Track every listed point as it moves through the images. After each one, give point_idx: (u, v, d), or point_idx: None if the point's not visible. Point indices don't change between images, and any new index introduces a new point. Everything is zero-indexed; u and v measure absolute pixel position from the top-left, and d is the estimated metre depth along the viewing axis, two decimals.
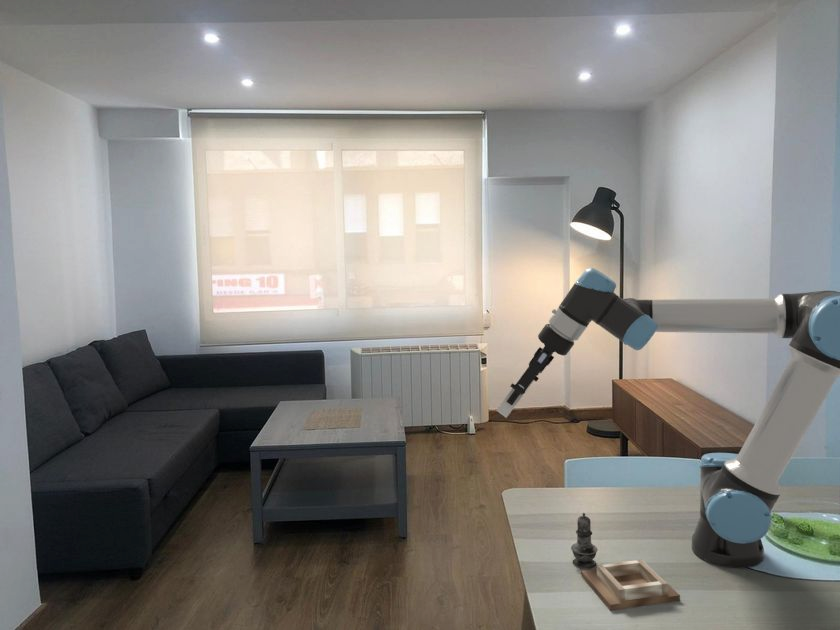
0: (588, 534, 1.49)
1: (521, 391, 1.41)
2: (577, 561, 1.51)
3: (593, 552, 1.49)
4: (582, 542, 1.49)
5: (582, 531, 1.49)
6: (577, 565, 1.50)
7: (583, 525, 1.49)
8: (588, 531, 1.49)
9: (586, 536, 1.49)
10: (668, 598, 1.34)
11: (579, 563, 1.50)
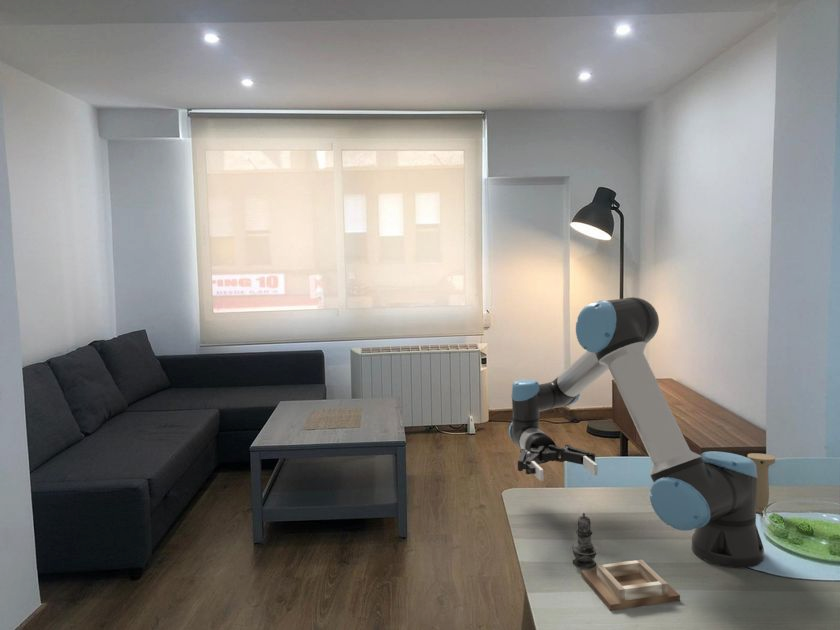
0: (588, 534, 1.49)
1: None
2: (577, 561, 1.51)
3: (593, 552, 1.49)
4: (582, 542, 1.49)
5: (582, 531, 1.49)
6: (577, 565, 1.50)
7: (583, 525, 1.49)
8: (588, 531, 1.49)
9: (586, 536, 1.49)
10: (668, 598, 1.34)
11: (579, 563, 1.50)
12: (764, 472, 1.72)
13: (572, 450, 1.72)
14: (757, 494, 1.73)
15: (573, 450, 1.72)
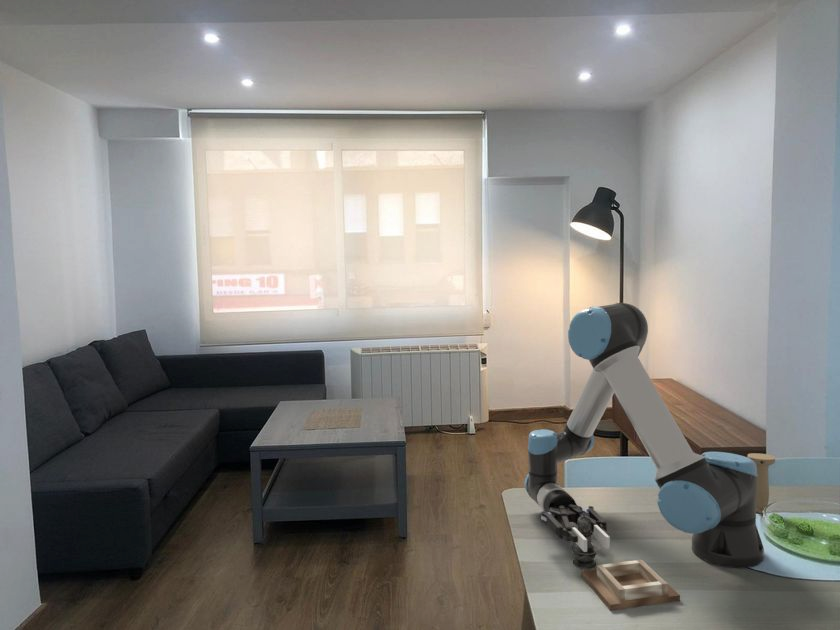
0: (588, 534, 1.49)
1: (557, 529, 1.52)
2: (577, 561, 1.51)
3: (593, 552, 1.49)
4: None
5: (582, 531, 1.49)
6: (577, 565, 1.50)
7: (583, 525, 1.49)
8: (588, 531, 1.49)
9: (587, 536, 1.49)
10: (668, 598, 1.34)
11: (579, 563, 1.50)
12: (764, 472, 1.72)
13: (590, 513, 1.59)
14: (757, 494, 1.73)
15: (591, 513, 1.59)
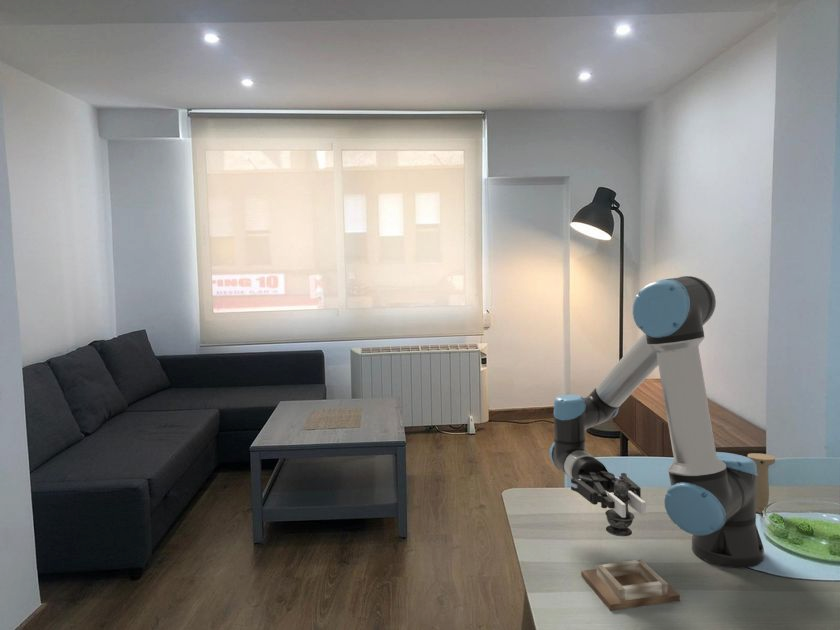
0: (626, 499, 1.38)
1: (592, 495, 1.40)
2: (612, 528, 1.40)
3: (630, 518, 1.37)
4: None
5: (619, 496, 1.38)
6: (611, 532, 1.39)
7: (621, 489, 1.38)
8: (626, 496, 1.38)
9: (624, 500, 1.38)
10: (668, 598, 1.34)
11: (613, 530, 1.39)
12: (764, 472, 1.72)
13: None
14: (757, 494, 1.73)
15: None
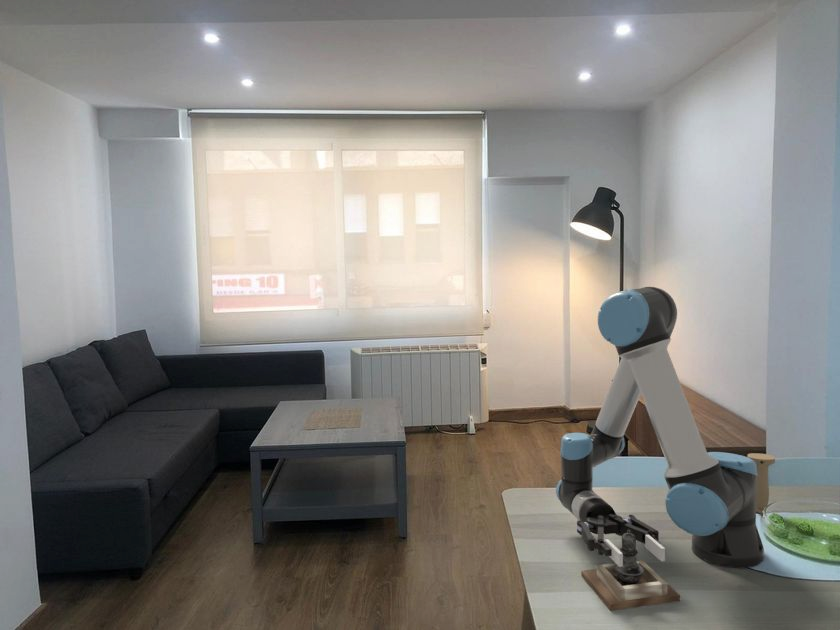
0: (634, 553, 1.37)
1: (588, 541, 1.40)
2: (621, 581, 1.39)
3: (639, 573, 1.37)
4: (627, 562, 1.37)
5: (627, 550, 1.37)
6: None
7: (628, 543, 1.37)
8: (634, 550, 1.37)
9: (632, 555, 1.37)
10: (668, 598, 1.34)
11: (623, 584, 1.38)
12: (764, 472, 1.72)
13: (634, 522, 1.48)
14: (757, 494, 1.73)
15: (635, 523, 1.47)
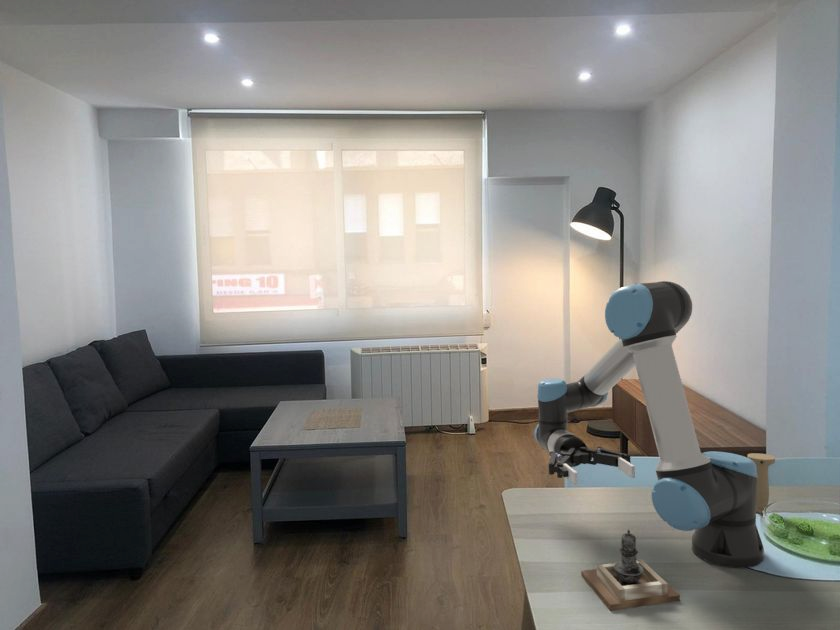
0: (633, 553, 1.37)
1: None
2: (621, 582, 1.39)
3: (639, 573, 1.37)
4: (627, 562, 1.37)
5: (627, 550, 1.37)
6: None
7: (628, 543, 1.37)
8: (633, 550, 1.37)
9: (632, 555, 1.37)
10: (668, 598, 1.34)
11: (623, 584, 1.38)
12: (764, 472, 1.72)
13: (605, 452, 1.62)
14: (757, 494, 1.73)
15: (606, 452, 1.62)
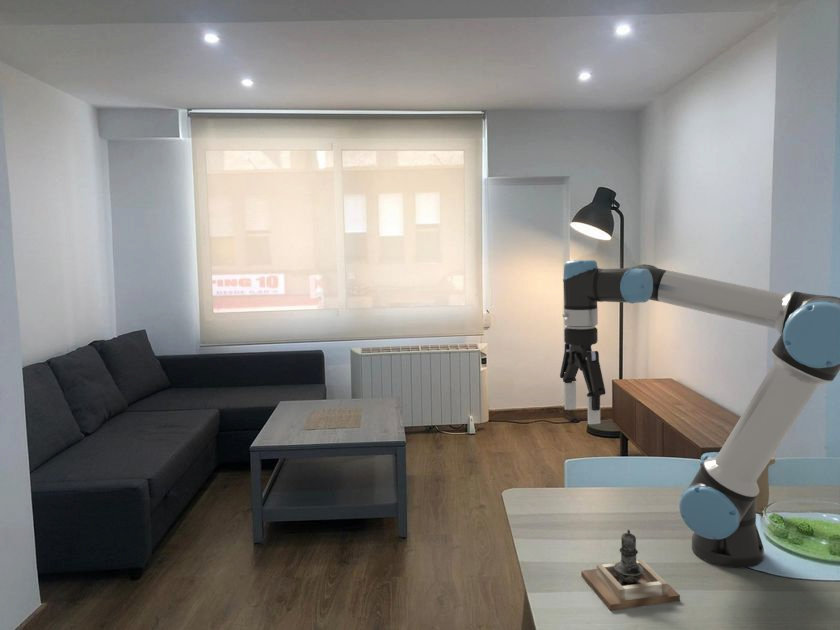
0: (633, 553, 1.37)
1: (603, 392, 1.46)
2: (621, 582, 1.39)
3: (639, 573, 1.37)
4: (627, 562, 1.37)
5: (627, 550, 1.37)
6: None
7: (628, 543, 1.37)
8: (633, 550, 1.37)
9: (632, 555, 1.37)
10: (668, 598, 1.34)
11: (623, 584, 1.38)
12: (764, 472, 1.72)
13: None
14: None
15: None
